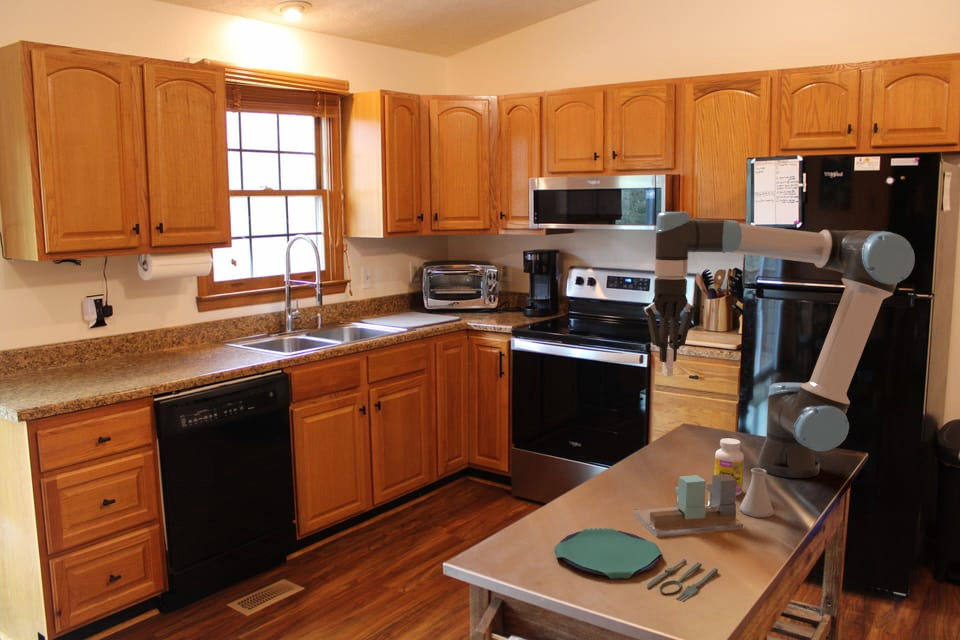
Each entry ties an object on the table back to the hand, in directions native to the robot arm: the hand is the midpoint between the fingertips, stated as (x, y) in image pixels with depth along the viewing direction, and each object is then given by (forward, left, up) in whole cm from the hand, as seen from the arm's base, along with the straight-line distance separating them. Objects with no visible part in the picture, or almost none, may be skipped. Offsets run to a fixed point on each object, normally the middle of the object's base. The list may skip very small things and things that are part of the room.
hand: (667, 374), depth 195 cm
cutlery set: (+24, +38, -29) cm, 54 cm away
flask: (-14, +19, -29) cm, 37 cm away
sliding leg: (+5, +21, -27) cm, 35 cm away
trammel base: (+4, +21, -28) cm, 36 cm away
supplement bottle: (-14, +6, -29) cm, 32 cm away
